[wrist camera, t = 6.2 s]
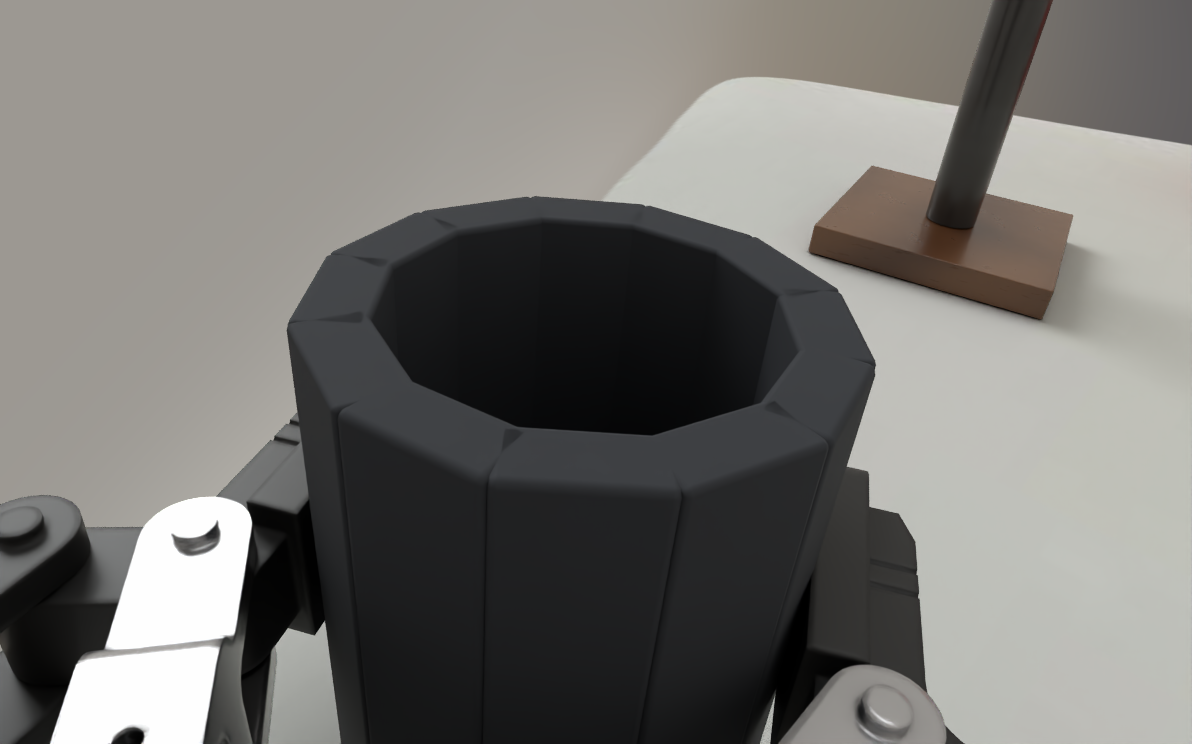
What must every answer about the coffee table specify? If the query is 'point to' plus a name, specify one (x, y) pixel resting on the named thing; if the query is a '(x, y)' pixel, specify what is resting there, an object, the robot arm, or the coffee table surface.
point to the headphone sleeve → (568, 471)
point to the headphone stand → (961, 194)
